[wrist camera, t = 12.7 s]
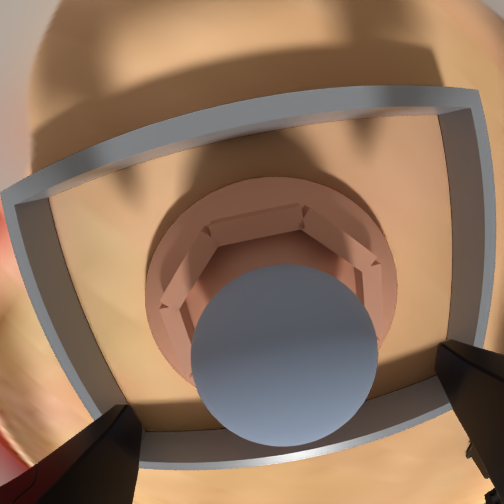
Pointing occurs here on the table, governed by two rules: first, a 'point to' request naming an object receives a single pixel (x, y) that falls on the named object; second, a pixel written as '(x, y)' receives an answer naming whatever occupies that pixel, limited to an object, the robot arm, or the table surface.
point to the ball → (284, 355)
